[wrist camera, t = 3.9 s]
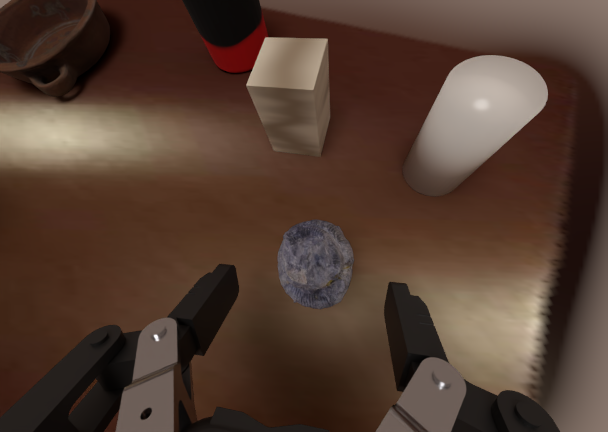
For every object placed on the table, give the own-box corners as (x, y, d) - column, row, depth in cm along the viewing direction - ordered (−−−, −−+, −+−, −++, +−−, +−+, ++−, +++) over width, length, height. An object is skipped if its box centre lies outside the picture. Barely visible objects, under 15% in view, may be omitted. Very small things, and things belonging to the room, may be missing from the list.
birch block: (274, 150, 24) (246, 85, 17) (285, 113, 26) (265, 37, 18) (320, 156, 23) (313, 90, 16) (330, 117, 25) (327, 38, 17)
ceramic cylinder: (393, 180, 21) (430, 104, 13) (416, 140, 22) (465, 46, 14) (447, 205, 20) (529, 138, 11) (469, 161, 21) (560, 70, 12)
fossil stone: (363, 260, 19) (389, 227, 10) (328, 317, 18) (320, 339, 9) (311, 227, 21) (290, 171, 11) (276, 277, 20) (222, 261, 10)
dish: (11, 128, 31) (-46, 99, 27) (24, 33, 39) (-18, -3, 34) (130, 81, 31) (94, 43, 27) (120, -5, 39) (91, -46, 34)
